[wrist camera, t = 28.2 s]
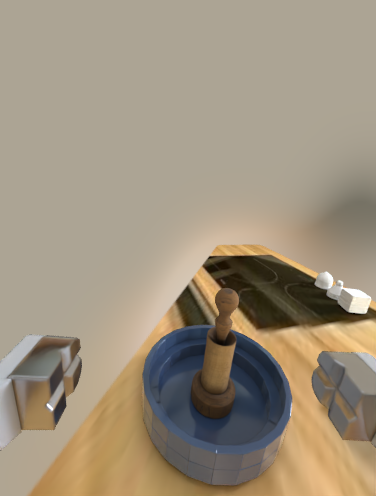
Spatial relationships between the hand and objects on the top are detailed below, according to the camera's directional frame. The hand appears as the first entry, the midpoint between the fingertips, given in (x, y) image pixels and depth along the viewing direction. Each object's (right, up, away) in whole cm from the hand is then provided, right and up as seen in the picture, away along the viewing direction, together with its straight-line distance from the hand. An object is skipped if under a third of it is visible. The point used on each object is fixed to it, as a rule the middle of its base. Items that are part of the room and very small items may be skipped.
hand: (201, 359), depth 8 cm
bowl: (+3, -20, +26) cm, 33 cm away
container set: (+47, -12, +64) cm, 80 cm away
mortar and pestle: (+3, -19, +26) cm, 32 cm away
